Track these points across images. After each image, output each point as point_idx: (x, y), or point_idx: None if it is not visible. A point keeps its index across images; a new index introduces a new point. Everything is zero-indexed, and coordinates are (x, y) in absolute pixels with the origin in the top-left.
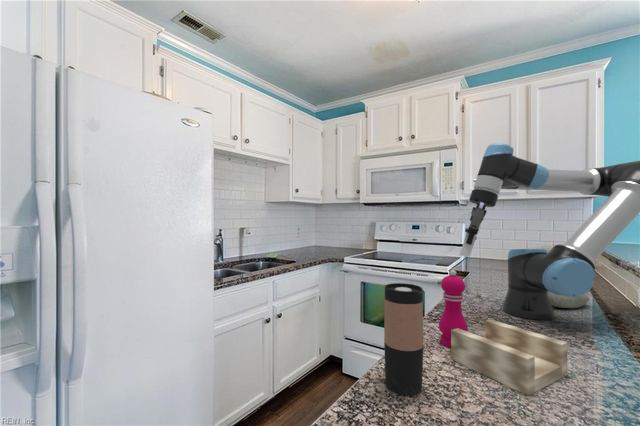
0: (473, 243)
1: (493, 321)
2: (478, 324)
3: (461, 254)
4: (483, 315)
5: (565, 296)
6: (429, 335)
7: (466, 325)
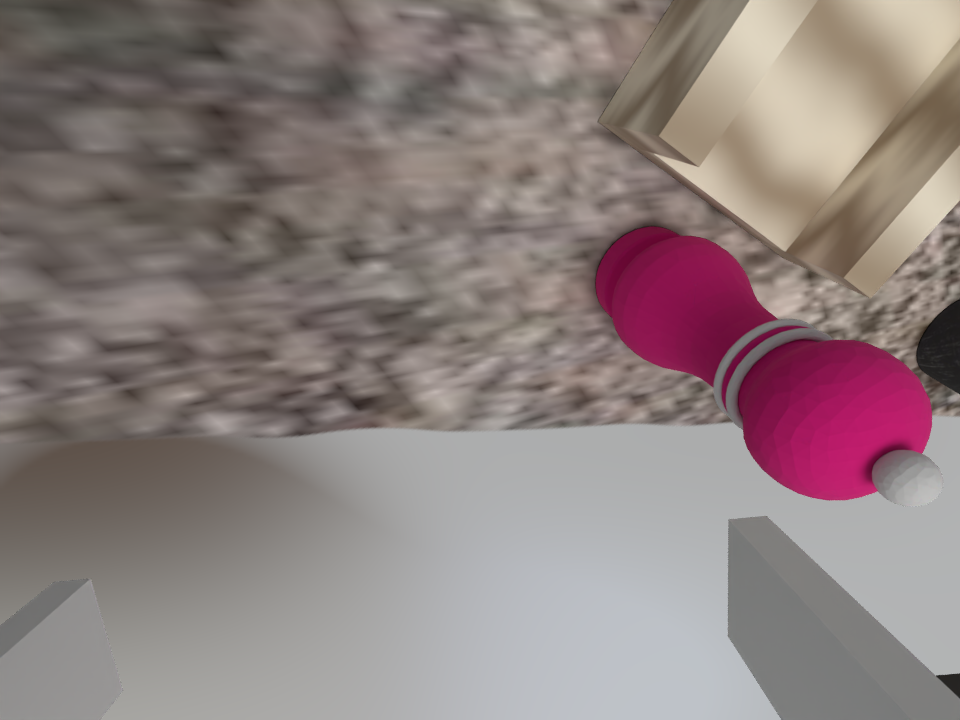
0: (931, 687)
1: (695, 119)
2: (290, 198)
3: (106, 680)
4: (48, 181)
5: None
6: (586, 370)
7: (712, 250)
